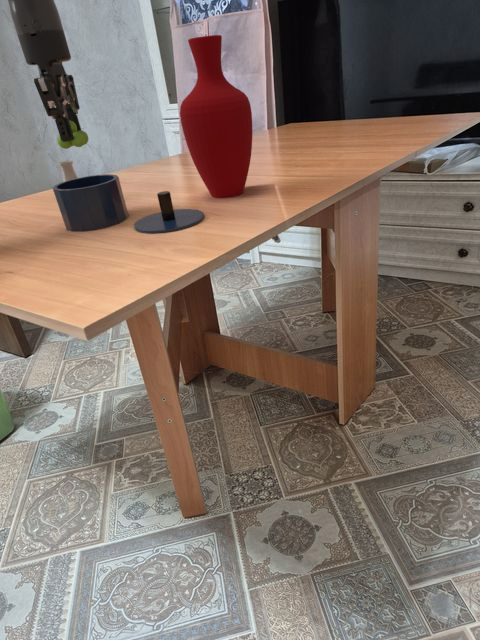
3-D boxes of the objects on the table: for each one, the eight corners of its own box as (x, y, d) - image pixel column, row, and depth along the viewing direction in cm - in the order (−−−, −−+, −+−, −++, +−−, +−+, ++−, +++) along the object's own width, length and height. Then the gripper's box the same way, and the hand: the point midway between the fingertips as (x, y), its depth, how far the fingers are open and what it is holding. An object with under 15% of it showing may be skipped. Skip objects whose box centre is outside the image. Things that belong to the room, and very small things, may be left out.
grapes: (58, 150, 87) (46, 114, 83) (66, 146, 91) (55, 111, 88) (84, 147, 87) (74, 110, 83) (91, 143, 91) (81, 108, 88)
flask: (91, 199, 118) (79, 157, 113) (95, 204, 112) (82, 160, 107) (62, 205, 116) (48, 162, 110) (64, 211, 110) (50, 166, 105)
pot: (58, 237, 91) (43, 193, 87) (77, 219, 102) (64, 179, 98) (121, 229, 91) (109, 185, 87) (133, 212, 102) (123, 171, 97)
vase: (209, 189, 113) (185, 41, 97) (268, 186, 108) (252, 31, 93) (184, 207, 101) (152, 42, 85) (249, 204, 97) (227, 30, 81)
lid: (128, 240, 85) (119, 206, 82) (141, 219, 96) (134, 188, 93) (202, 231, 85) (196, 197, 81) (207, 211, 96) (201, 180, 93)
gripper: (34, 35, 85) (65, 136, 94) (0, 31, 73) (39, 147, 82) (74, 30, 85) (101, 131, 94) (47, 24, 73) (81, 142, 82)
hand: (72, 138), depth 88 cm, fingers closed on grapes, 5 cm apart
